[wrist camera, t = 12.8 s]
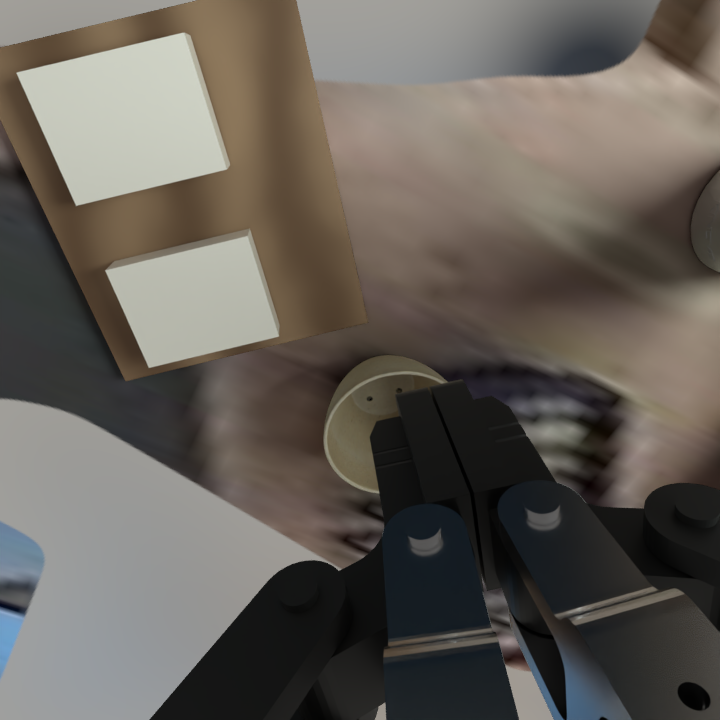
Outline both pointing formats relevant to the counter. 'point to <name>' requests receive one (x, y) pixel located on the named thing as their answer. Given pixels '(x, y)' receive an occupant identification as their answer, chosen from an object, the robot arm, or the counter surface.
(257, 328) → the tile far
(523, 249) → the counter surface
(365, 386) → the flower pot
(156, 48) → the tile near
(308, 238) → the board
